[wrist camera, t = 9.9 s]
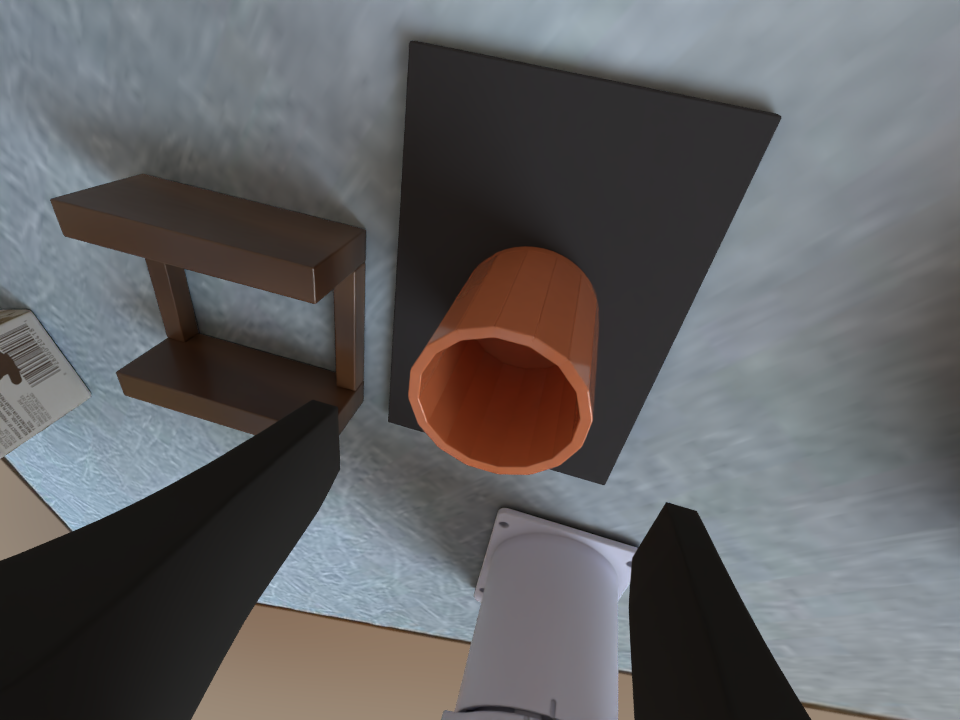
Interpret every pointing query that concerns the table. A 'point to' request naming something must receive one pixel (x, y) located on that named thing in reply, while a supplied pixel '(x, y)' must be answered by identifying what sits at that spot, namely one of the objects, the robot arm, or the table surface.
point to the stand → (238, 258)
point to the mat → (566, 209)
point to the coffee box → (32, 380)
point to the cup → (512, 365)
